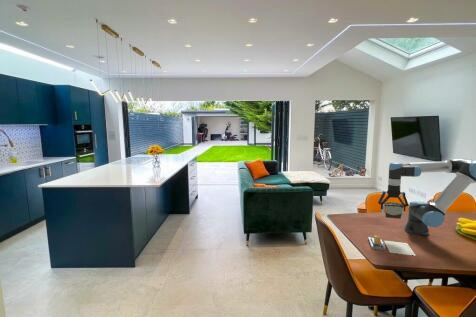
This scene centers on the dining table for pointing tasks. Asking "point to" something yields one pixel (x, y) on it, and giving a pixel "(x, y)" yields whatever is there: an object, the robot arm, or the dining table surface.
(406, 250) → the mat
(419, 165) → the robot arm
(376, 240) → the yellow block
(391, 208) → the food container
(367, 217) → the dining table surface
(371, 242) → the panel
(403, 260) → the dining table surface
